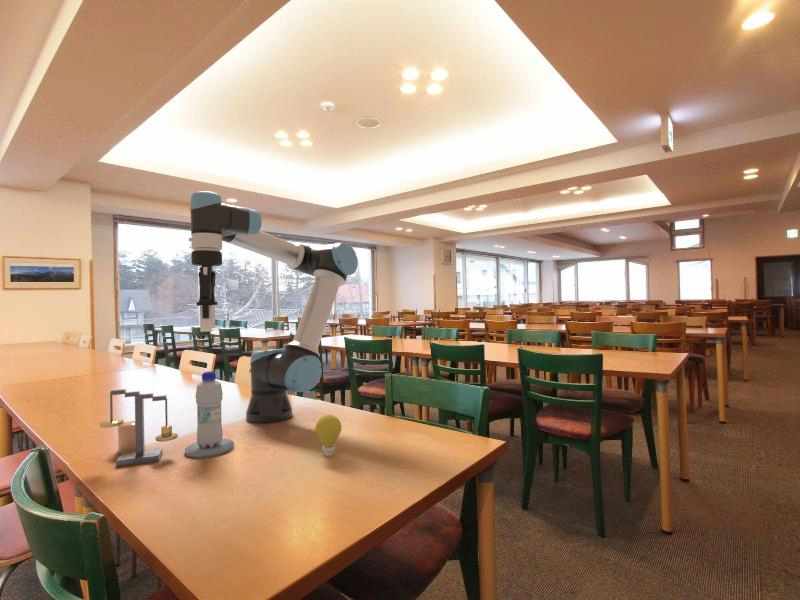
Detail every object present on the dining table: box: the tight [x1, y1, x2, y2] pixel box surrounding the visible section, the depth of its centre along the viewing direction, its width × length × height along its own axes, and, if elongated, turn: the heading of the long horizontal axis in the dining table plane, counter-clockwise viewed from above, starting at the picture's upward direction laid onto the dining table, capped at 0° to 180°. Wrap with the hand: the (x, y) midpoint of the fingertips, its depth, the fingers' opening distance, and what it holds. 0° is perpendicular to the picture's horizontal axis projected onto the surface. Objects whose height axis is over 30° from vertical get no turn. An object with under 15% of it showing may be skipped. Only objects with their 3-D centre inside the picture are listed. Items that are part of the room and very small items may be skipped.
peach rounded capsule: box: [117, 420, 136, 454], centre depth 114 cm, size 6×6×7 cm
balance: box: [98, 388, 179, 468], centre depth 106 cm, size 17×6×18 cm, turn 111°
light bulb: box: [314, 414, 342, 457], centre depth 108 cm, size 7×7×10 cm
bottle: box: [194, 371, 224, 449], centre depth 113 cm, size 7×7×20 cm
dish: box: [184, 438, 235, 459], centre depth 113 cm, size 12×12×1 cm
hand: (208, 329), depth 113 cm, fingers open, 13 cm apart
